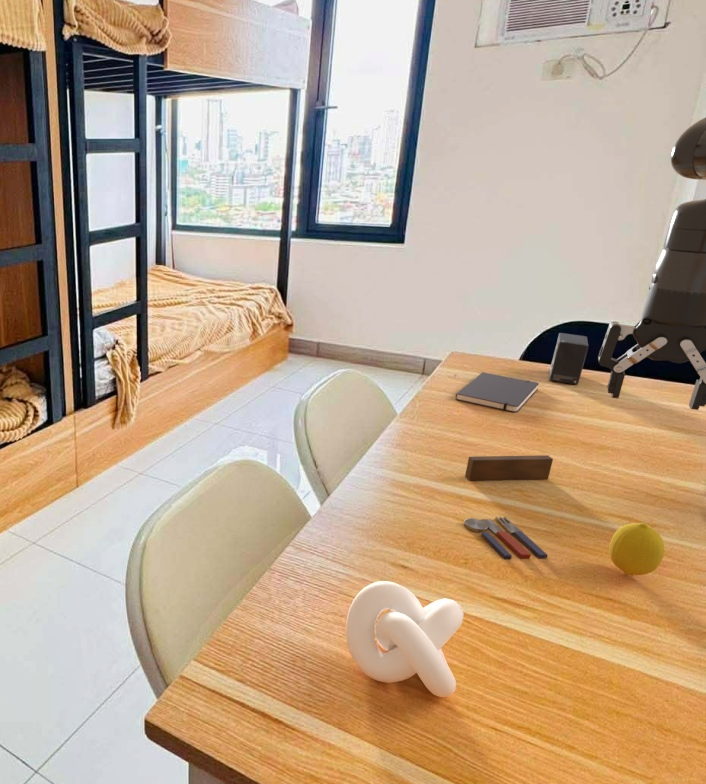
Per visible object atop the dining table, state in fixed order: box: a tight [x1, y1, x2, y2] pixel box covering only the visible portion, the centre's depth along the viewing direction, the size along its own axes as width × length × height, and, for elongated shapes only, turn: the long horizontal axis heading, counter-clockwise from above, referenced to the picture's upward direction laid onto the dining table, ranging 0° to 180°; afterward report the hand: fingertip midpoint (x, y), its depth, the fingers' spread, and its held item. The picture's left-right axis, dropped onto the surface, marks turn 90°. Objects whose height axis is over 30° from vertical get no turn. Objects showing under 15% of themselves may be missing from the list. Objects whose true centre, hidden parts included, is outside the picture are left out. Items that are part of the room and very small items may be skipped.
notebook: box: [455, 371, 540, 413], centre depth 150 cm, size 13×2×21 cm
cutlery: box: [463, 516, 549, 560], centre depth 93 cm, size 10×8×1 cm
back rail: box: [464, 454, 554, 481], centre depth 110 cm, size 14×2×4 cm, turn 91°
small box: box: [548, 332, 589, 385], centre depth 159 cm, size 11×6×10 cm, turn 147°
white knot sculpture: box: [345, 580, 465, 699], centre depth 67 cm, size 11×12×9 cm
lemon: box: [608, 522, 665, 577], centre depth 83 cm, size 6×6×8 cm
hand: (652, 402), depth 87 cm, fingers open, 8 cm apart
